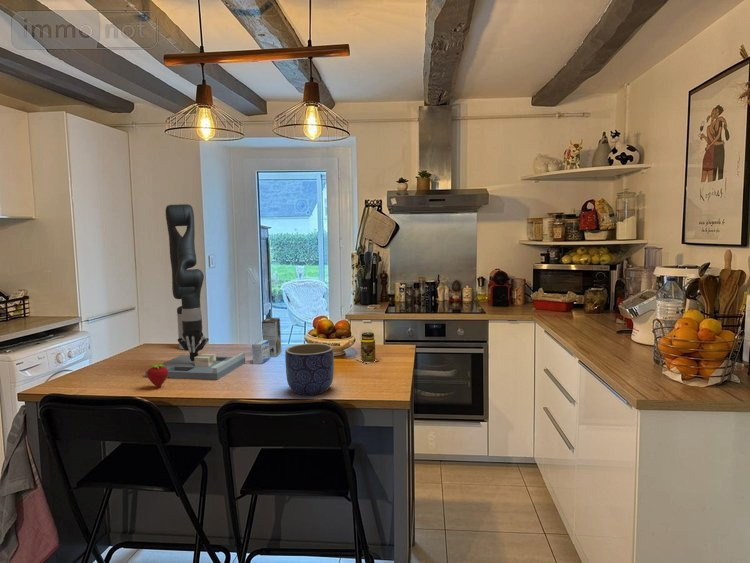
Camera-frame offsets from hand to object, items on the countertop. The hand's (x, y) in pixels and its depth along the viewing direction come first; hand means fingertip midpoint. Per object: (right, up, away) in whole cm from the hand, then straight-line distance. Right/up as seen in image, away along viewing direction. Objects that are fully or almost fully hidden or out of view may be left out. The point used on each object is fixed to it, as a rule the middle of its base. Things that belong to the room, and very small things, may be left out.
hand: (194, 360), depth 197 cm
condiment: (+70, -2, +10) cm, 71 cm away
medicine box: (+25, -2, +11) cm, 27 cm away
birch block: (+5, -1, -1) cm, 5 cm away
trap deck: (+1, -4, 0) cm, 4 cm away
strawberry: (-5, -6, -22) cm, 23 cm away
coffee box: (+27, -1, +23) cm, 35 cm away
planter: (+51, -6, -28) cm, 58 cm away
